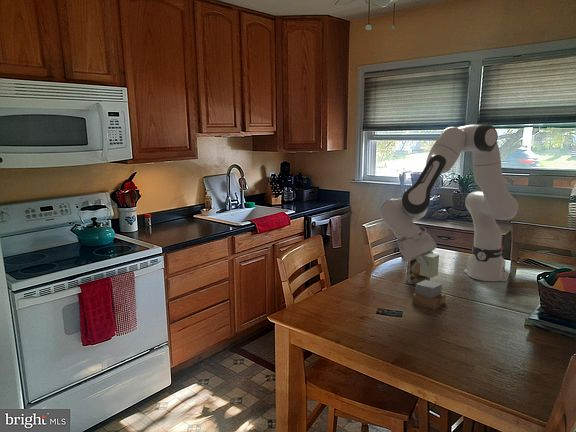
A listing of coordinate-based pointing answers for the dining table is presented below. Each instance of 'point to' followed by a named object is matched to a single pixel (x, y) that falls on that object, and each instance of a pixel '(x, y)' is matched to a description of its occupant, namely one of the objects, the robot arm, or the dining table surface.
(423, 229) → the robot arm
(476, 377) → the dining table surface
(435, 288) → the tower top
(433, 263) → the sage block
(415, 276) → the coffee box
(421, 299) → the tower base
